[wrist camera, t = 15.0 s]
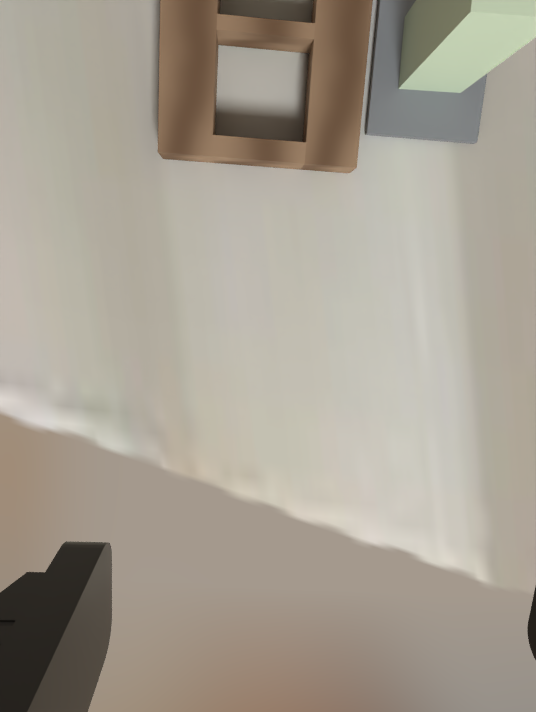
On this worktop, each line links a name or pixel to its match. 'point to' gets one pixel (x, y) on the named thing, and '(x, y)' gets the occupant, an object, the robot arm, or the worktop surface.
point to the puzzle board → (319, 38)
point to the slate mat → (415, 92)
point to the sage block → (461, 41)
